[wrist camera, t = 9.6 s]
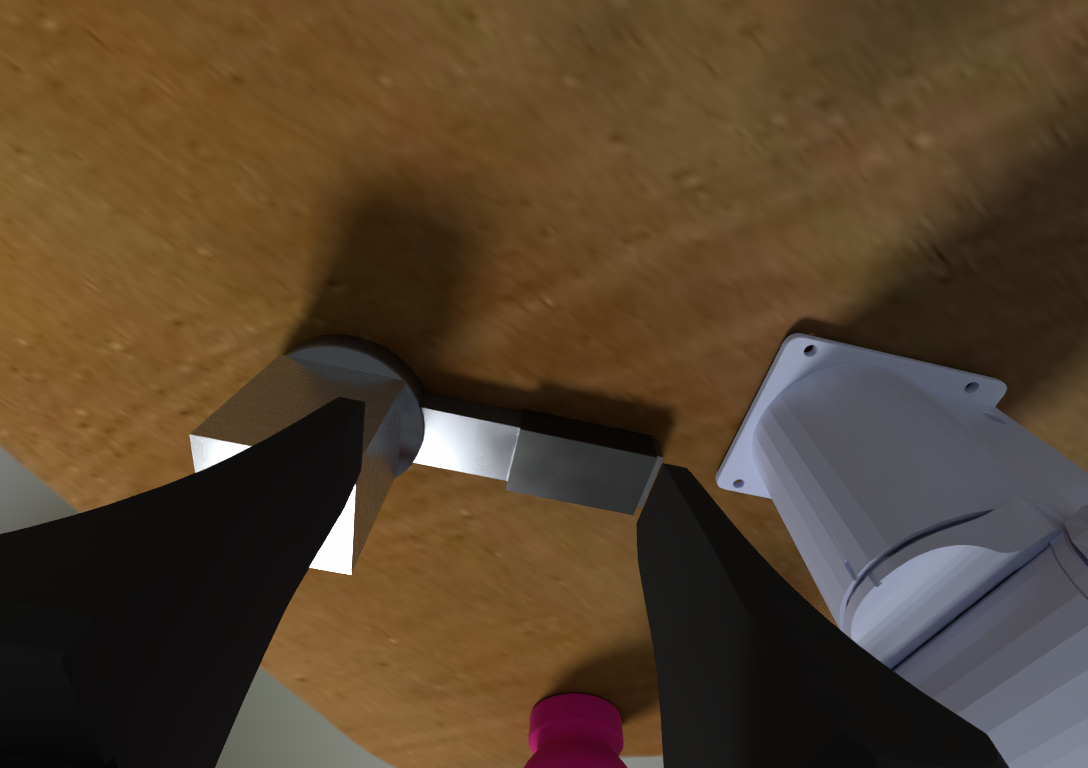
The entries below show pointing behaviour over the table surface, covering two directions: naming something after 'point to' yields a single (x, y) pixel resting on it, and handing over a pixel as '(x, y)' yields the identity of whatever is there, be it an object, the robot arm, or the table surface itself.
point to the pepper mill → (575, 733)
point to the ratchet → (504, 437)
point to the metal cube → (288, 398)
